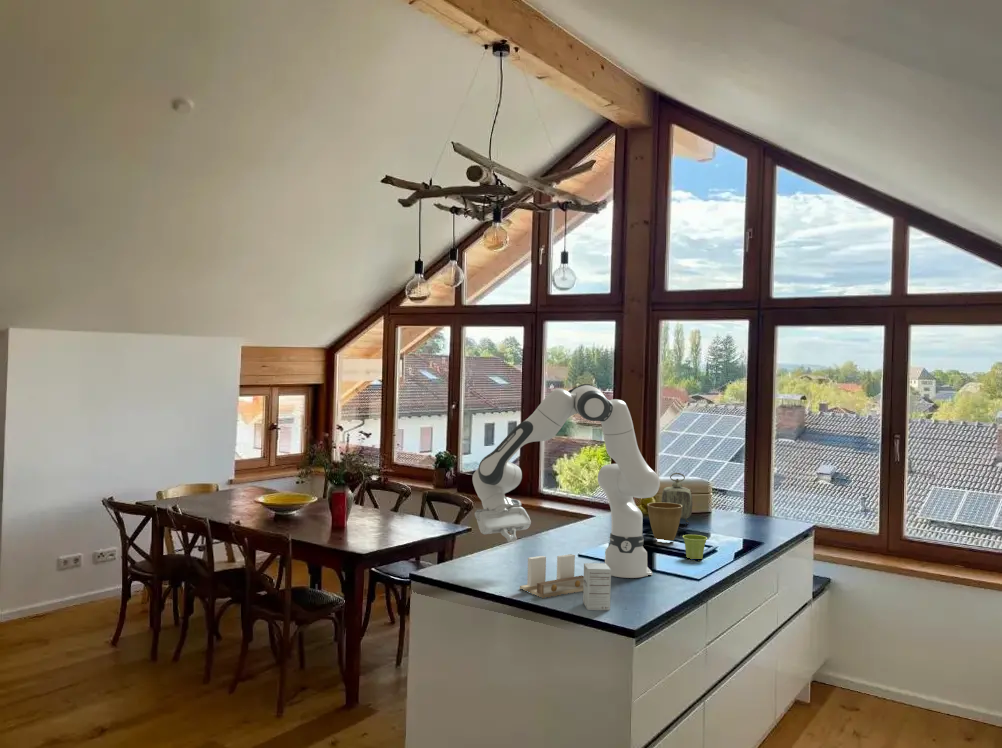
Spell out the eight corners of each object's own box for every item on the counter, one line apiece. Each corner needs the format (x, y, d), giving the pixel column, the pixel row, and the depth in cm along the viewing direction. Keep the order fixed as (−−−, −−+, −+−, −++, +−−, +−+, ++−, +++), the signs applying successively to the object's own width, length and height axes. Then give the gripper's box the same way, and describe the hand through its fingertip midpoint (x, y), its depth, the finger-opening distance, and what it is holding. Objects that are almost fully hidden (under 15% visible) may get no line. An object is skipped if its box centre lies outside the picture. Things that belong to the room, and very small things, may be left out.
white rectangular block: (527, 585, 260) (527, 557, 260) (541, 582, 263) (542, 555, 263) (531, 586, 258) (531, 559, 258) (545, 584, 262) (546, 556, 262)
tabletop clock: (691, 523, 387) (692, 472, 387) (692, 527, 378) (693, 474, 378) (661, 522, 389) (662, 471, 389) (661, 525, 381) (662, 473, 381)
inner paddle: (556, 583, 263) (557, 556, 263) (570, 580, 267) (570, 554, 267) (560, 584, 262) (561, 557, 262) (574, 582, 265) (574, 555, 265)
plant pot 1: (658, 536, 353) (659, 500, 353) (688, 542, 343) (688, 505, 343) (639, 541, 342) (640, 504, 342) (669, 547, 332) (670, 509, 332)
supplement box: (582, 603, 247) (583, 562, 247) (605, 603, 247) (606, 562, 247) (586, 610, 239) (587, 568, 239) (610, 610, 240) (611, 568, 240)
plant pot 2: (707, 562, 306) (707, 540, 306) (682, 560, 307) (682, 538, 307) (706, 557, 315) (706, 535, 315) (681, 555, 317) (682, 533, 317)
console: (519, 589, 261) (520, 576, 261) (563, 581, 272) (564, 569, 272) (543, 598, 251) (543, 585, 251) (587, 590, 262) (588, 577, 262)
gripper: (476, 504, 272) (492, 538, 264) (523, 500, 284) (540, 532, 276) (469, 515, 275) (484, 549, 267) (516, 510, 287) (531, 542, 279)
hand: (512, 540), depth 272 cm, fingers closed
